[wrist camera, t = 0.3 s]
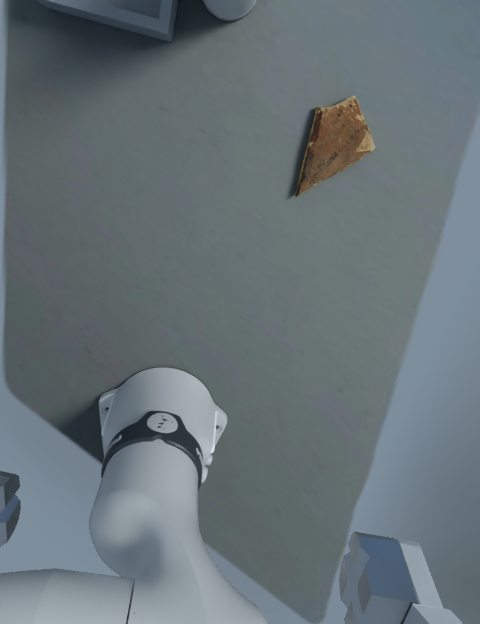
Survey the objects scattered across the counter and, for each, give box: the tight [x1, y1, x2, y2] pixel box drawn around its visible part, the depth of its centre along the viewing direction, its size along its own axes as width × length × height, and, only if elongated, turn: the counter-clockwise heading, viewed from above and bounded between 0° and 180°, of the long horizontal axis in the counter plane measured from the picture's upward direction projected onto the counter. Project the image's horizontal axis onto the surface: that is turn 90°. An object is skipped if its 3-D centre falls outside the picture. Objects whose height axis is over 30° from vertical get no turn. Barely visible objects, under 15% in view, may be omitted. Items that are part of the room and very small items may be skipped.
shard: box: [295, 96, 375, 197], centre depth 52 cm, size 11×8×2 cm
